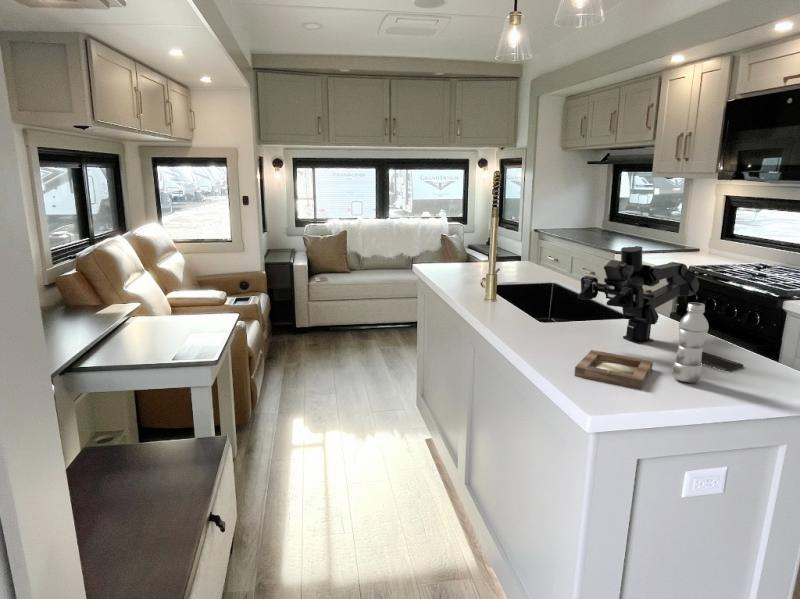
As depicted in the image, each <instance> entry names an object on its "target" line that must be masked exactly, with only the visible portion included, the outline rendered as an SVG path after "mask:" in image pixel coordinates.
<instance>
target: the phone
mask: <svg viewBox="0 0 800 599" xmlns="http://www.w3.org/2000/svg"><path fill="white" fill-rule="evenodd" d="M703 364H705V365H704V366H706V365H708V366H707V367H709V366H711V367H710V368H712V367H715V368H717V369H716V370H718V369H720V370H719V371H721V370H724V371H723V372H725V371H731V372H734V371H733V370H735V371H736V369H738V370H740V369H739V368H742V369H744V364H743V363H740V362H736V361H734V360H730V359H728V358H724V357H720V356H718V355H714V354H712V353H708V352H704V351H702V364H701V365H703ZM715 368H714V369H715Z"/></svg>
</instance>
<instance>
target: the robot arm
mask: <svg viewBox="0 0 800 599" xmlns="http://www.w3.org/2000/svg"><path fill="white" fill-rule="evenodd" d="M603 269H604V272H605V277H604V278H603V282H604V283H600V282H599V279H598V277H597V276H596V277H595V276H590V275H585V276H582V277H581V278H580V293H579V294H578V295H577V298H578V299H579V300H593V299H595V298H597V296H598V295H599V293H600V292H601V293H604V295H605V299H608V300H607V301H606V306H609V307H618V308H622V316H623V317H622V318H623V319H624V320H628V321H627V322H628V323H627V326H626V334H625V335H622V339H626V340H627V341H630V342H633V343H635V344H643V343H649V342H654V339H653V338H651V330H652V329H651V328H652V325H656V324H657V323H658V320H659V316H660V315H659V314H658V313H657V310H656V308H658V307H660V306H662V305H664V304H666V303H668V302H670V301H671V300H673V299H675V298H678V297H688V296H689V297H690V296H694V295H695V294H696V293H697V292H698V291H699V288H700V282H699V280H698V277H697V275H696V274H695V273H693V272H692V271H691V270H690V269H689V268H688V266H687V265H686V264H685V263H684V262H683V263H680V262H674V261H671V262H668V263H664V264H660V265H659V264H658V265H654V266H652V265H647V264H643V246H637V245H636V246H627V247H626V246H623V247H621V249H620V260H613V259H610V260H609V261H608V262H607V263H606V264H605V265H603ZM662 280H665V281H666V282H667V284H666V285H665V284H664V285H663V286H661V287H659V288H657V289H655V290H653V291H652V292H649V293H645V292H644V288H643V287H644V286H646V287H654V286H656V285H658V284H659V283H660V281H662Z"/></svg>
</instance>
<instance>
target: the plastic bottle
mask: <svg viewBox="0 0 800 599" xmlns="http://www.w3.org/2000/svg"><path fill="white" fill-rule="evenodd" d="M705 307H706V304H705V303H702V302H701V303H700V302H694V301H693V302H688V303H687V307H686V311H687V312H686V314H684V315H683V317H681V319H680V321H679V323H678V345H677V348H678V349H677V352H676V356H675V361H674V362H673V365H672V368H671V370H672V376H673V378H674V379H676V380H677V381H679V382H680V381H681V382H684V383H697V382H699V380H700V379H701V377H702V375H703V367H702V366H703V364H701V363H702V352H703V350H704V345H705V340H706V338H707V334H708V332H709V327H710V325H709V322H708V319H707V318H706V317H705V315H704V313H705V312H706V310H705V309H706V308H705Z"/></svg>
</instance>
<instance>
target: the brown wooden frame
mask: <svg viewBox="0 0 800 599" xmlns="http://www.w3.org/2000/svg"><path fill="white" fill-rule="evenodd" d="M653 365H654V360H650V359H644V358H638V357H632V356H628V355H621V354H617V353H610V352H606V351H599V350H595V349H591V350H590V351H589V352H588V353H587V354H586V355H585V356H584V357H583V358H582V359H581V361H579V363H578V364H577V365H575V367H574V377H579V378H584V379H588V380H594V381H599V382H603V383H608V384H613V385H618V386H623V387H627V388H632V389H635V390H636V389H638V390H642V388H643V386H644V384H645V382H646V381H647V379H648V378H649V376H650V374H651V373H652V371H653Z"/></svg>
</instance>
